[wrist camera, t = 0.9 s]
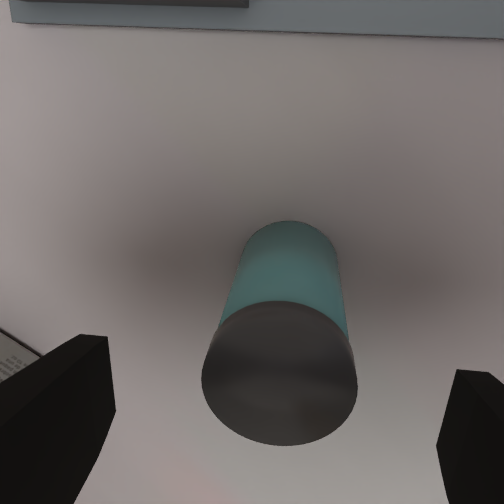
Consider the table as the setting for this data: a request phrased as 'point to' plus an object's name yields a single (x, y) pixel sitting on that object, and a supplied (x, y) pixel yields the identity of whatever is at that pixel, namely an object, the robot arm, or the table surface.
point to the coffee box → (13, 357)
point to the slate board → (278, 15)
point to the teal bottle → (283, 341)
